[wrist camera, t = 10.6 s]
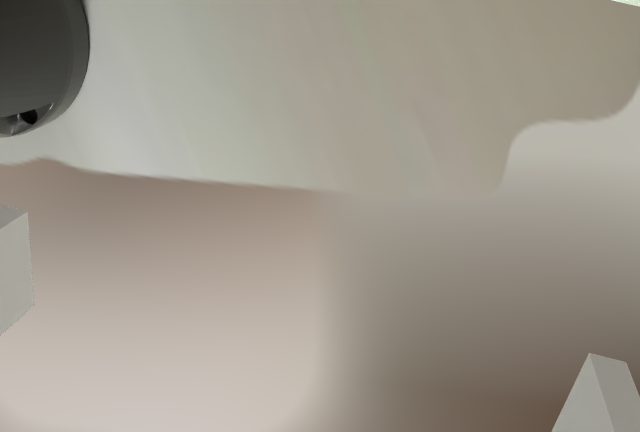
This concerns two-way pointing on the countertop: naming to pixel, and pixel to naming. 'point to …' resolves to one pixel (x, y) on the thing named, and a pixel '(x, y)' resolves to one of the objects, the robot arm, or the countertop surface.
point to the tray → (630, 2)
